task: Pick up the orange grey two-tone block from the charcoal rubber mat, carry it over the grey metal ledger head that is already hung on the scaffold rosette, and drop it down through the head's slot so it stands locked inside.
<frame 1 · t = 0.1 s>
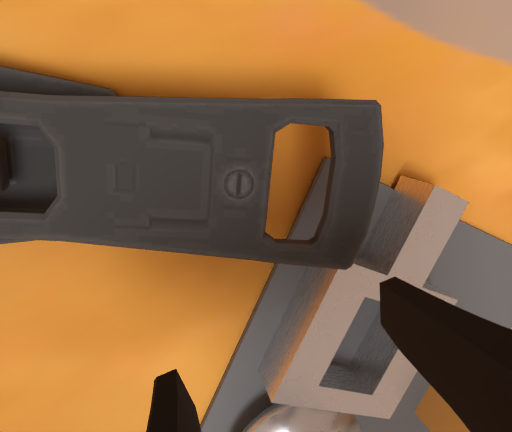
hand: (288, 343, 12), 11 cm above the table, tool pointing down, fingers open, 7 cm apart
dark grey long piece: (97, 156, 18), on the table
site mat: (380, 353, 28), on the table
scaffold node: (345, 322, 25), resting on site mat
orange grey two-tone block: (439, 391, 31), resting on site mat
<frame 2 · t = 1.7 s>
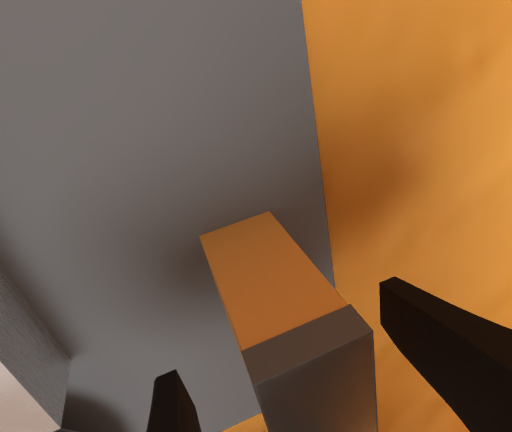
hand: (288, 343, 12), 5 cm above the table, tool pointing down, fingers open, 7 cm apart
site mat: (35, 300, 13), on the table
orange grey two-tone block: (247, 270, 15), resting on site mat
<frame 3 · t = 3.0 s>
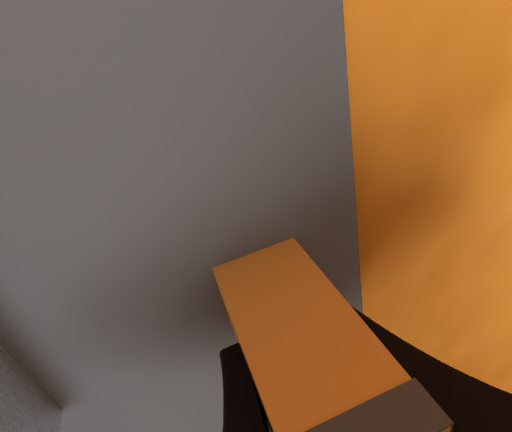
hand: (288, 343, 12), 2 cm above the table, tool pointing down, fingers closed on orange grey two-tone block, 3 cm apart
site mat: (18, 346, 11), on the table
orange grey two-tone block: (267, 304, 13), resting on site mat, touching gripper
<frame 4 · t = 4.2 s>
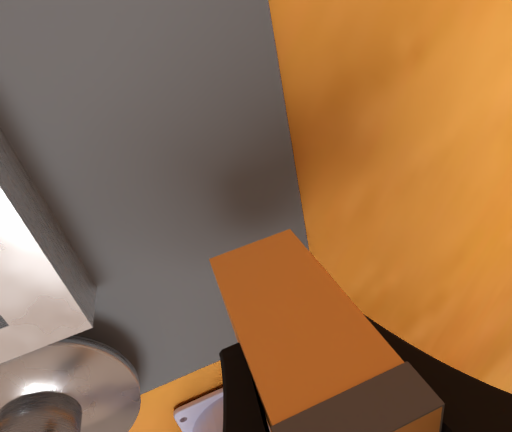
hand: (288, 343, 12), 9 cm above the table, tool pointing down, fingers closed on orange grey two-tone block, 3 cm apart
site mat: (70, 237, 17), on the table
orange grey two-tone block: (264, 295, 13), point 7 cm above the table, touching gripper
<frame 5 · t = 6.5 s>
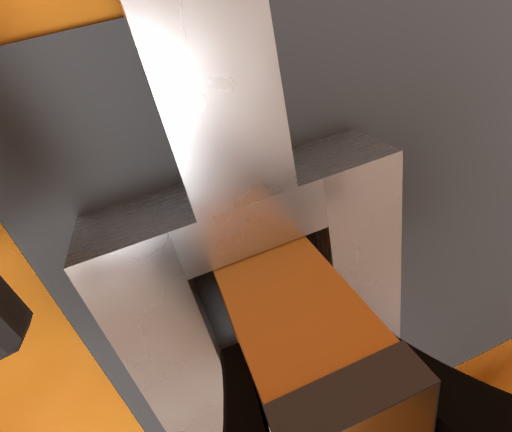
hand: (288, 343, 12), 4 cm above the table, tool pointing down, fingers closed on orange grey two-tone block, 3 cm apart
site mat: (353, 265, 17), on the table
scaffold node: (252, 276, 15), resting on site mat
orange grey two-tone block: (259, 283, 13), point 2 cm above the table, touching gripper
when the fingers open (4 cm above the table, at t = 6.9 s): orange grey two-tone block drops 1 cm, resting on site mat.
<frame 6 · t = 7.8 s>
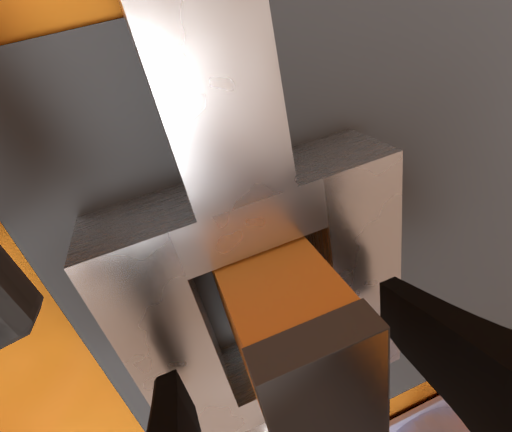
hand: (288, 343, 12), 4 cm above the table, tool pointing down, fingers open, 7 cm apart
site mat: (353, 265, 17), on the table
scaffold node: (252, 276, 15), resting on site mat
orange grey two-tone block: (248, 263, 14), resting on site mat
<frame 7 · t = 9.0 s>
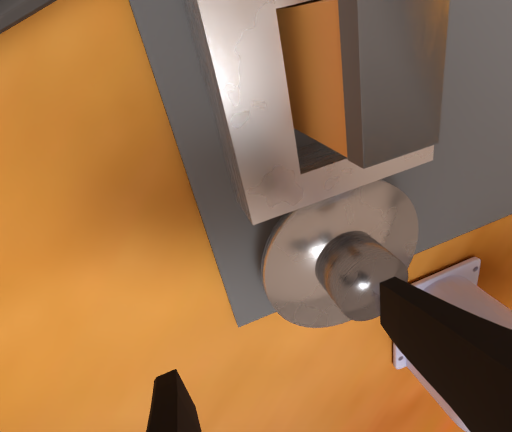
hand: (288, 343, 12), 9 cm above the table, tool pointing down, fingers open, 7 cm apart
site mat: (390, 91, 19), on the table
scaffold node: (307, 78, 17), resting on site mat
orange grey two-tone block: (305, 63, 17), resting on site mat
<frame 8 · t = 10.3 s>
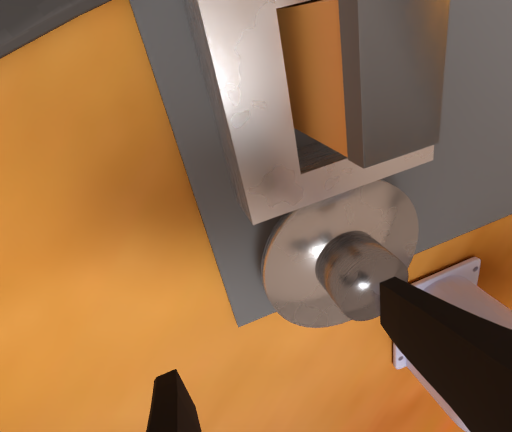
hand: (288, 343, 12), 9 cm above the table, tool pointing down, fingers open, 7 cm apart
site mat: (390, 91, 19), on the table
scaffold node: (308, 78, 17), resting on site mat
orange grey two-tone block: (305, 63, 17), resting on site mat
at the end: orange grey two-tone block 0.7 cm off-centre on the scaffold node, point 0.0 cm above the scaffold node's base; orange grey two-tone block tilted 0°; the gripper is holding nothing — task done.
